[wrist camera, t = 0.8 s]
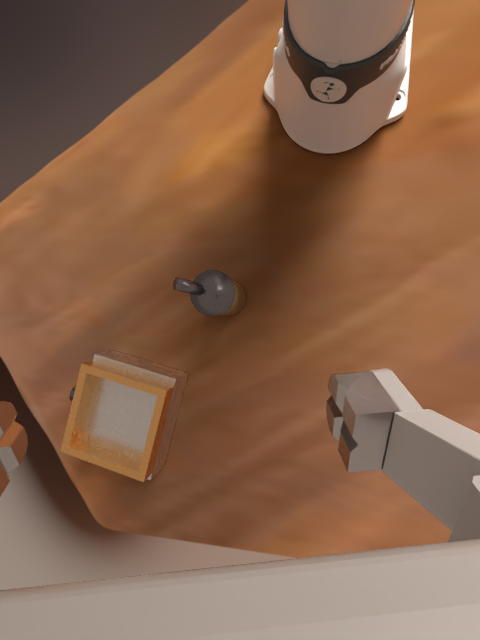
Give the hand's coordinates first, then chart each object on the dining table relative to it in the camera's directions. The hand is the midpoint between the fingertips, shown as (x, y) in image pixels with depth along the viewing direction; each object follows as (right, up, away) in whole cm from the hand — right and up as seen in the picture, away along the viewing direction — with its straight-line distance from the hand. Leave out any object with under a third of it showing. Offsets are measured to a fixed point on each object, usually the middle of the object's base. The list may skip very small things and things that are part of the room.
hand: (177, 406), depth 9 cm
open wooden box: (-15, -10, +42) cm, 45 cm away
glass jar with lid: (0, +5, +39) cm, 39 cm away
